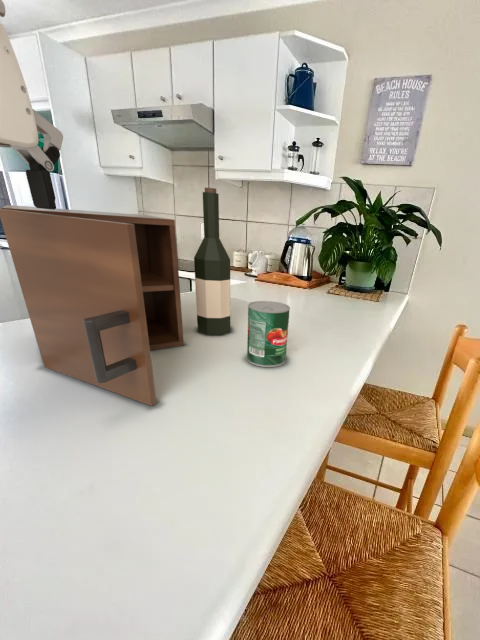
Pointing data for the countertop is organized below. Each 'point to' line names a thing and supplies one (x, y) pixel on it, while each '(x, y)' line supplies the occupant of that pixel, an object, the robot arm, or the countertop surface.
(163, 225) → the cupboard
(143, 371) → the cupboard door
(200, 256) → the wine bottle
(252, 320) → the canned tomato
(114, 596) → the countertop surface
